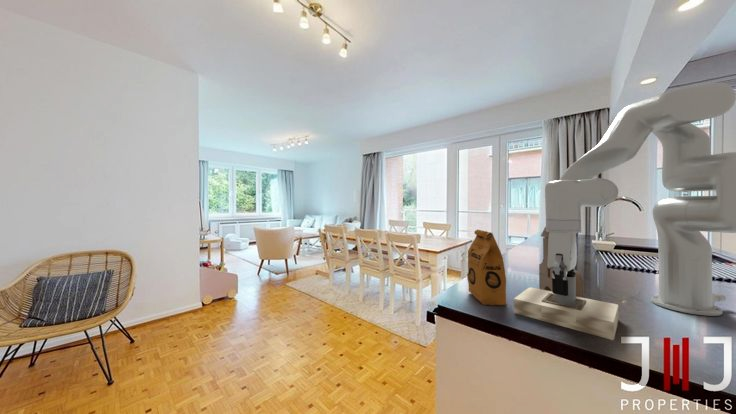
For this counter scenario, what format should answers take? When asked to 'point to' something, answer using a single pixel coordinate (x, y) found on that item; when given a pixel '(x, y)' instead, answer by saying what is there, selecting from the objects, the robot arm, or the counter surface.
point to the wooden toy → (546, 273)
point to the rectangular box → (569, 312)
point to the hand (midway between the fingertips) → (564, 289)
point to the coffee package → (486, 270)
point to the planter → (571, 297)
